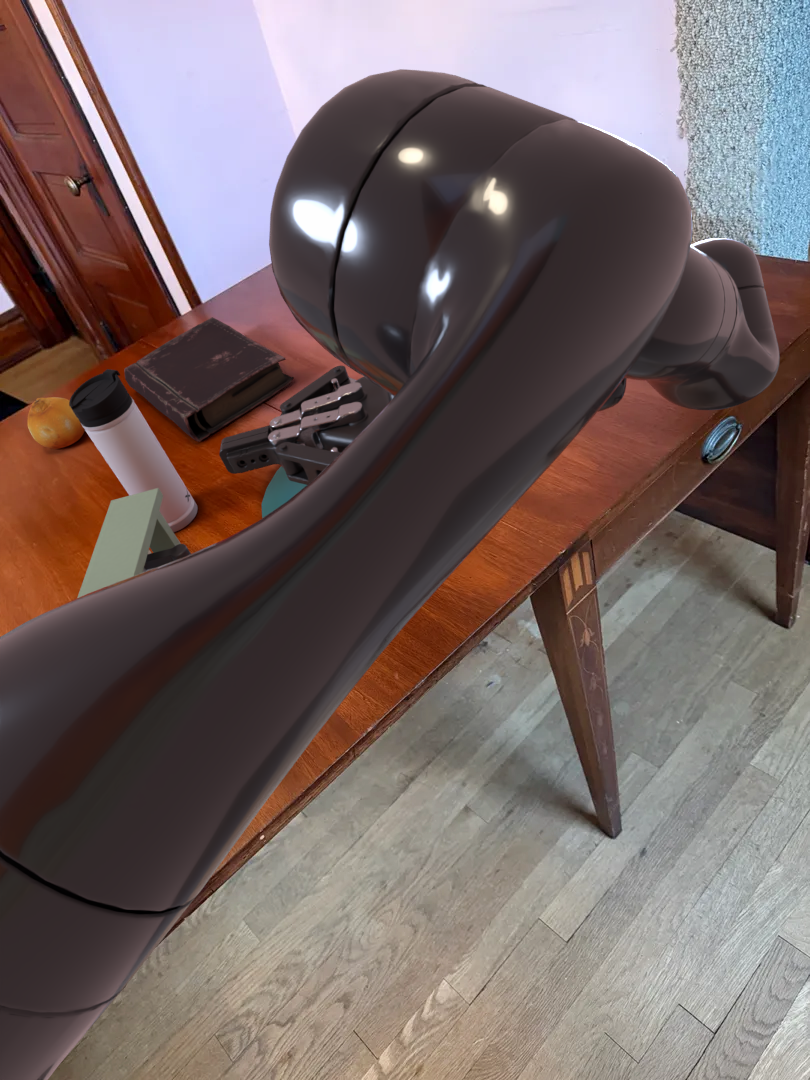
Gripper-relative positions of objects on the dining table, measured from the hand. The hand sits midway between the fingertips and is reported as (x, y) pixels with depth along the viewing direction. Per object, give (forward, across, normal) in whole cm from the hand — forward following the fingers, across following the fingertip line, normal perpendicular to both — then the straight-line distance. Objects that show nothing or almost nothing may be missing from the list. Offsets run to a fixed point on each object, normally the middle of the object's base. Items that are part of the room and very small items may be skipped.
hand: (224, 457), depth 53 cm
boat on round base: (-4, -29, +26) cm, 39 cm away
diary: (+21, -62, +26) cm, 70 cm away
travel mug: (+22, -31, +26) cm, 46 cm away
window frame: (+14, -1, +26) cm, 30 cm away
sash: (+12, -4, +25) cm, 28 cm away
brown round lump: (+45, -58, +26) cm, 78 cm away
